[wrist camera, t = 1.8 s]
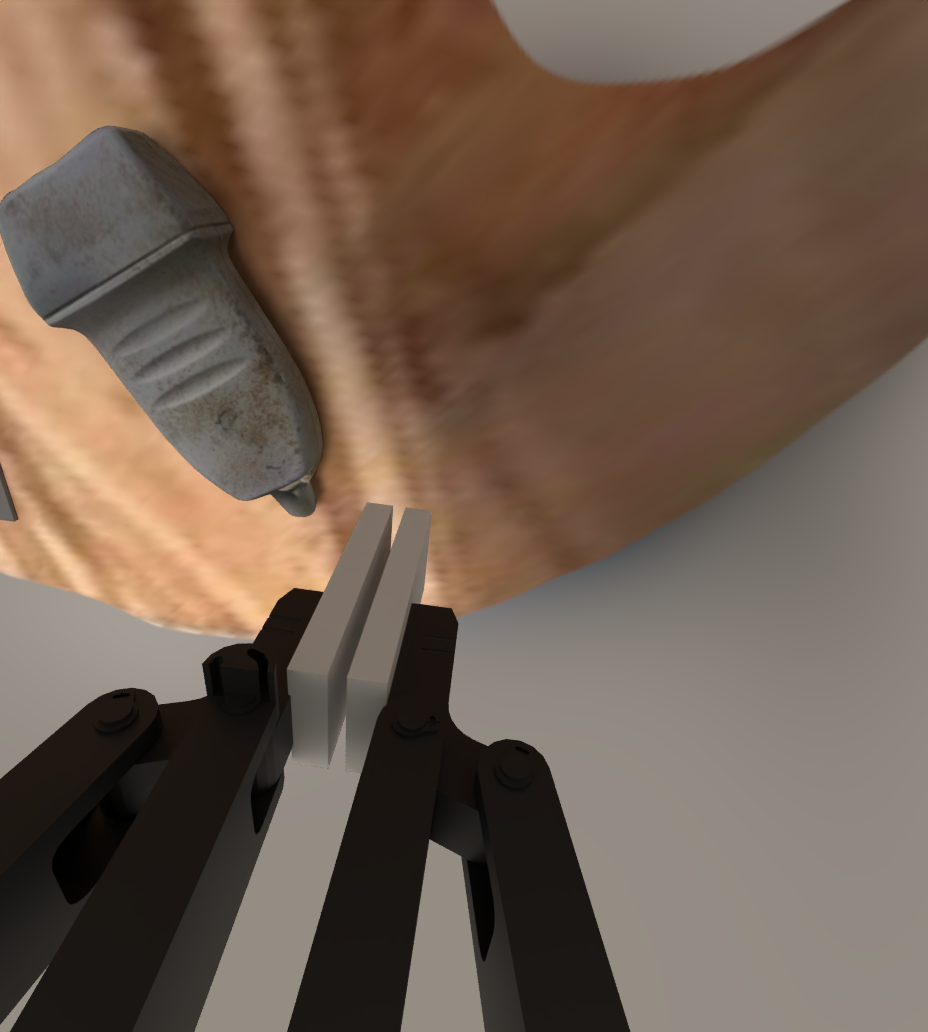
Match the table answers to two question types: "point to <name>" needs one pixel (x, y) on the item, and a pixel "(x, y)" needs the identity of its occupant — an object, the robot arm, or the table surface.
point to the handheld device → (166, 310)
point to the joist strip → (6, 502)
